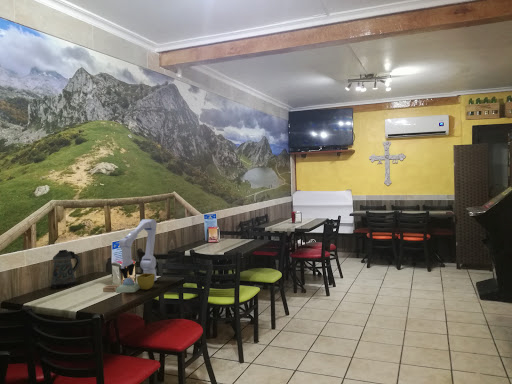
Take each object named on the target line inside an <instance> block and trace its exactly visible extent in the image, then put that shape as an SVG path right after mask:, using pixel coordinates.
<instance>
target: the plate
mask: <svg viewBox="0 0 512 384" xmlns="http://www.w3.org/2000/svg"><path fill="white" fill-rule="evenodd" d="M134 283H135V282H134V280H133V278H130V277H127V278H125V279H124V280H123V281H122V284H123V285H134Z"/></svg>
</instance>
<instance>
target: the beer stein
mask: <svg viewBox="0 0 512 384" xmlns="http://www.w3.org/2000/svg"><path fill="white" fill-rule="evenodd" d="M73 259H75V260H76V262H75V265H74V266H73V263H72V260H73ZM52 260H53V270H52V277H51V281H50V285H51V289H65V288H70V287H72V286H75V285H76V283H77V278H76V276H75V272H76V271H77V269H78V268H79V267H80V263H81V258H80V255H77V254H76V253H75V252H74V251H72V250H70V251H69V250H67V249H61V250H59V251H58V252H57V253H56V254H54V256H53V257H52ZM64 287H65V288H64Z"/></svg>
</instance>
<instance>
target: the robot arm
mask: <svg viewBox="0 0 512 384" xmlns="http://www.w3.org/2000/svg"><path fill="white" fill-rule="evenodd" d="M157 226H158V225H157V221H156V219H153V218H151V219H150V218H148V219H147V218H146V219H145V218H142V219H141V220H140V221H139V224H138V225H137V226H136V228H134V230H130V231H129V232H128V234H127V235H124V237H123V238H121V239H120V240H119V243H118V245H119V247H120V250H121V257H122V258H121V259H122V262H121V263H120V264H121V265H120V268H119V271H120V272H121V275H122V276H123V279H124V280H125V279H127V278H129V277H128V276H133V275H134V274H133V273H134V269H135V266H136V264H135V263H134V260H133V258H132V246H133V243H134V241H135V240H136V239H137V238H138V237H139V233H141V232H142V231H143V230H144V231H145V232H147V237H146V246H145V253H144V255H143V256H142V257H141V261H140V268H141V269H142V270H143V274H144V273H150V274H155V279H154V282H155V281H157V280H158V278H157V271H156V266H157V261H156V257H155V256H154V249H155V243H156V241H155V240H156V233H157V231H156V230H157Z"/></svg>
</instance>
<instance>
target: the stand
mask: <svg viewBox="0 0 512 384" xmlns="http://www.w3.org/2000/svg"><path fill="white" fill-rule="evenodd" d="M120 285H121V284H107V285H105V286H104V287H103V288H102V292H103V293H105V292H106V293H107V292H109V293H113V292H116V289H117V287H119V286H120Z"/></svg>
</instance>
